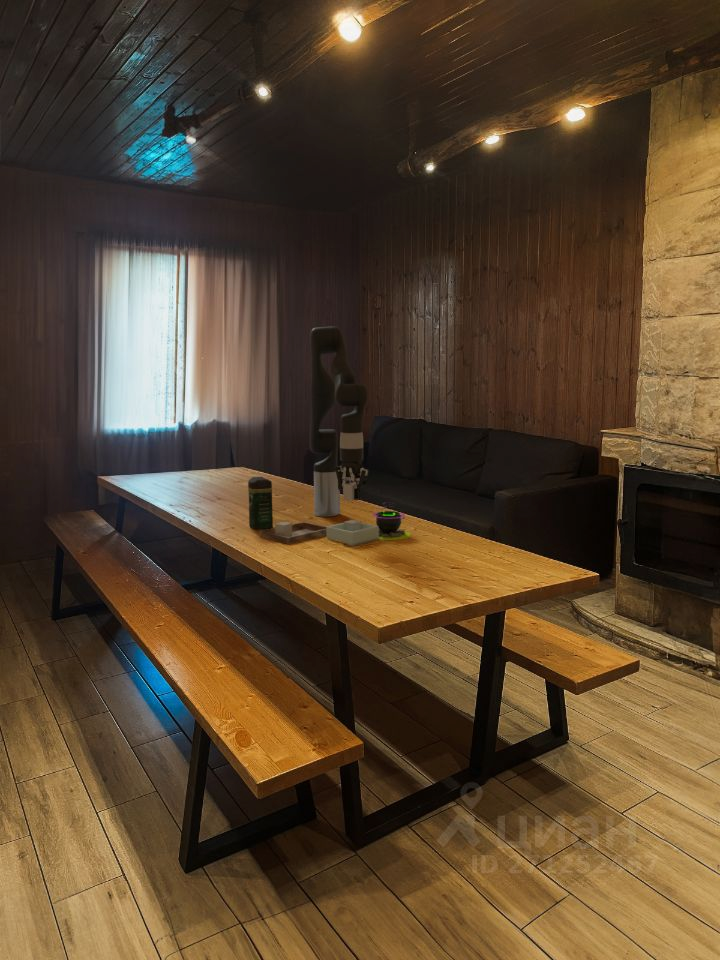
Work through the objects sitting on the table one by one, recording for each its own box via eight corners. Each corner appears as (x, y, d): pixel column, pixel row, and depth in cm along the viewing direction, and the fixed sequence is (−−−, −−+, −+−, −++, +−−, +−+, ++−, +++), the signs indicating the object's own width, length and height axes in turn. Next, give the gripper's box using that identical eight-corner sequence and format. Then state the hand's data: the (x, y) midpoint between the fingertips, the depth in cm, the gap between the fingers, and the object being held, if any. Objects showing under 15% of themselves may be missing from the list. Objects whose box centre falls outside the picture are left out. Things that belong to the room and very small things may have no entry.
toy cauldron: (416, 532, 246) (416, 501, 244) (401, 542, 232) (401, 509, 230) (376, 528, 252) (376, 498, 250) (359, 538, 238) (359, 506, 236)
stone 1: (282, 536, 238) (282, 521, 237) (292, 537, 236) (291, 523, 235) (275, 538, 235) (274, 523, 234) (284, 540, 233) (284, 525, 232)
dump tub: (352, 533, 243) (352, 520, 243) (378, 539, 235) (378, 526, 234) (326, 540, 235) (326, 526, 234) (352, 546, 226) (352, 532, 226)
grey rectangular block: (351, 497, 233) (351, 482, 232) (360, 499, 230) (360, 483, 229) (343, 499, 230) (343, 484, 229) (352, 500, 227) (351, 485, 226)
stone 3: (352, 534, 240) (352, 519, 240) (361, 536, 238) (360, 521, 237) (344, 536, 238) (344, 521, 237) (352, 538, 235) (352, 523, 234)
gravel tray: (303, 528, 251) (303, 521, 251) (331, 535, 241) (331, 527, 241) (260, 538, 238) (260, 531, 237) (288, 545, 228) (287, 538, 227)
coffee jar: (275, 530, 250) (274, 478, 247) (253, 532, 247) (252, 479, 244) (268, 524, 258) (267, 474, 255) (247, 526, 255) (245, 476, 252)
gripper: (375, 447, 225) (375, 500, 228) (344, 443, 235) (344, 494, 237) (359, 449, 220) (359, 503, 222) (328, 445, 229) (328, 497, 232)
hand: (352, 498), depth 230 cm, fingers closed on grey rectangular block, 4 cm apart
